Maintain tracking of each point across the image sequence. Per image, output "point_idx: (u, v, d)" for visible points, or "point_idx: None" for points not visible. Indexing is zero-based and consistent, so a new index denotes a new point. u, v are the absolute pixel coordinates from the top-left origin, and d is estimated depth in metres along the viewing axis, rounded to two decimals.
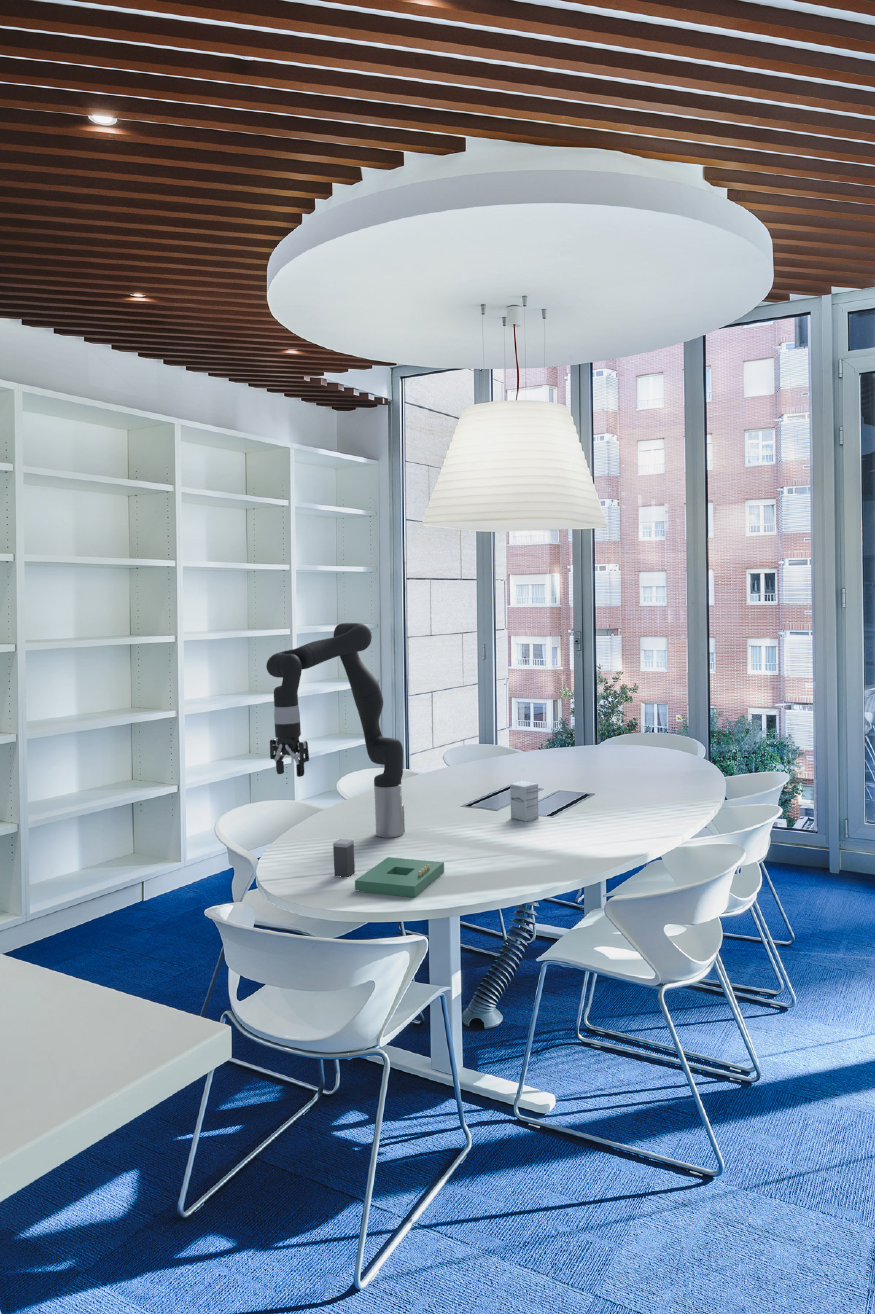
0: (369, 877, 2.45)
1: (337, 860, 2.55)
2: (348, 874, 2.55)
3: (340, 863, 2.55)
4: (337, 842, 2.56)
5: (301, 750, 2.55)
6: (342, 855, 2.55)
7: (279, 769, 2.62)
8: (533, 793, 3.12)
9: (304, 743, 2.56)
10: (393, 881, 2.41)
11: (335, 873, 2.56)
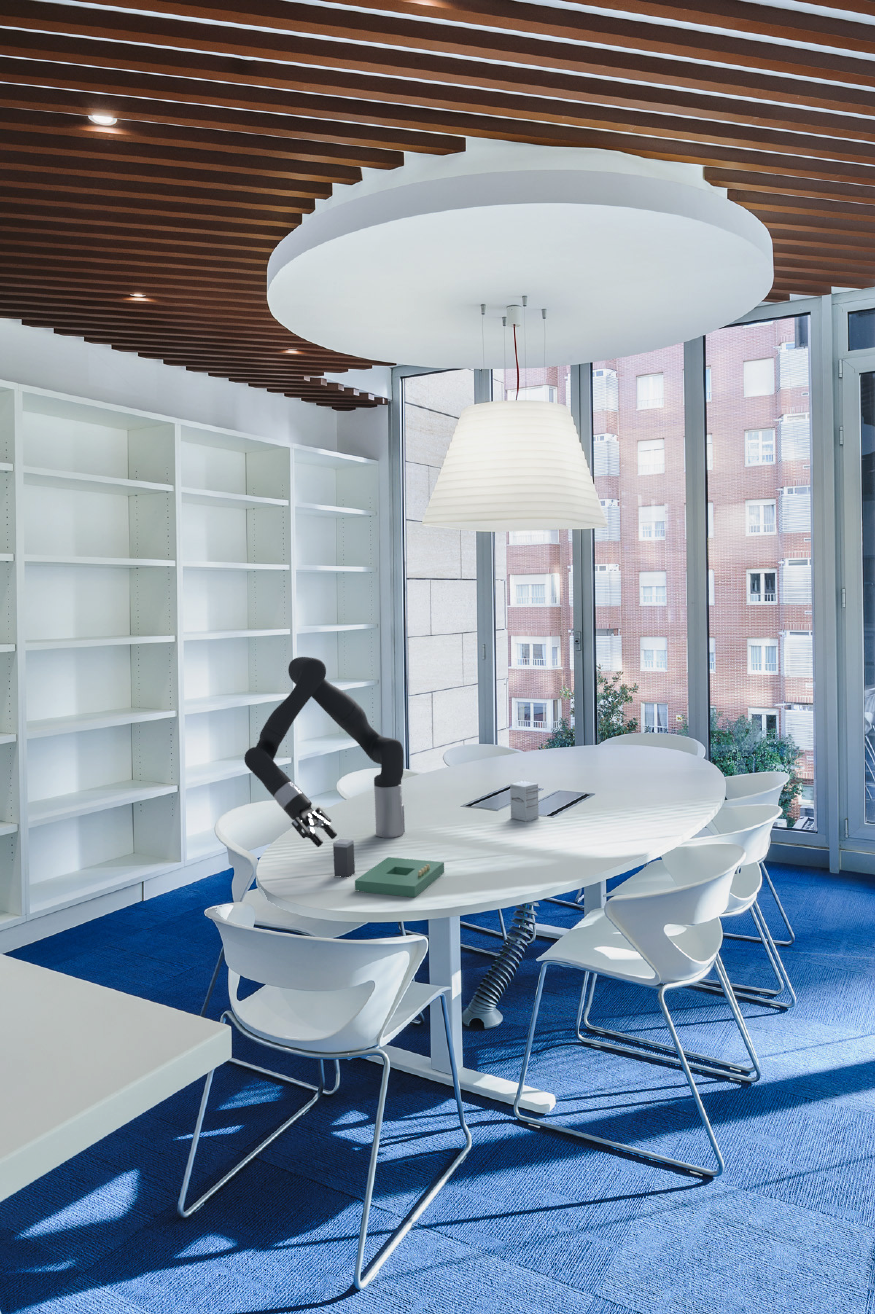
0: (369, 877, 2.45)
1: (337, 860, 2.55)
2: (348, 874, 2.55)
3: (340, 863, 2.55)
4: (337, 842, 2.56)
5: None
6: (342, 855, 2.55)
7: (329, 835, 2.63)
8: (533, 793, 3.12)
9: (294, 821, 2.54)
10: (393, 881, 2.41)
11: (335, 873, 2.56)
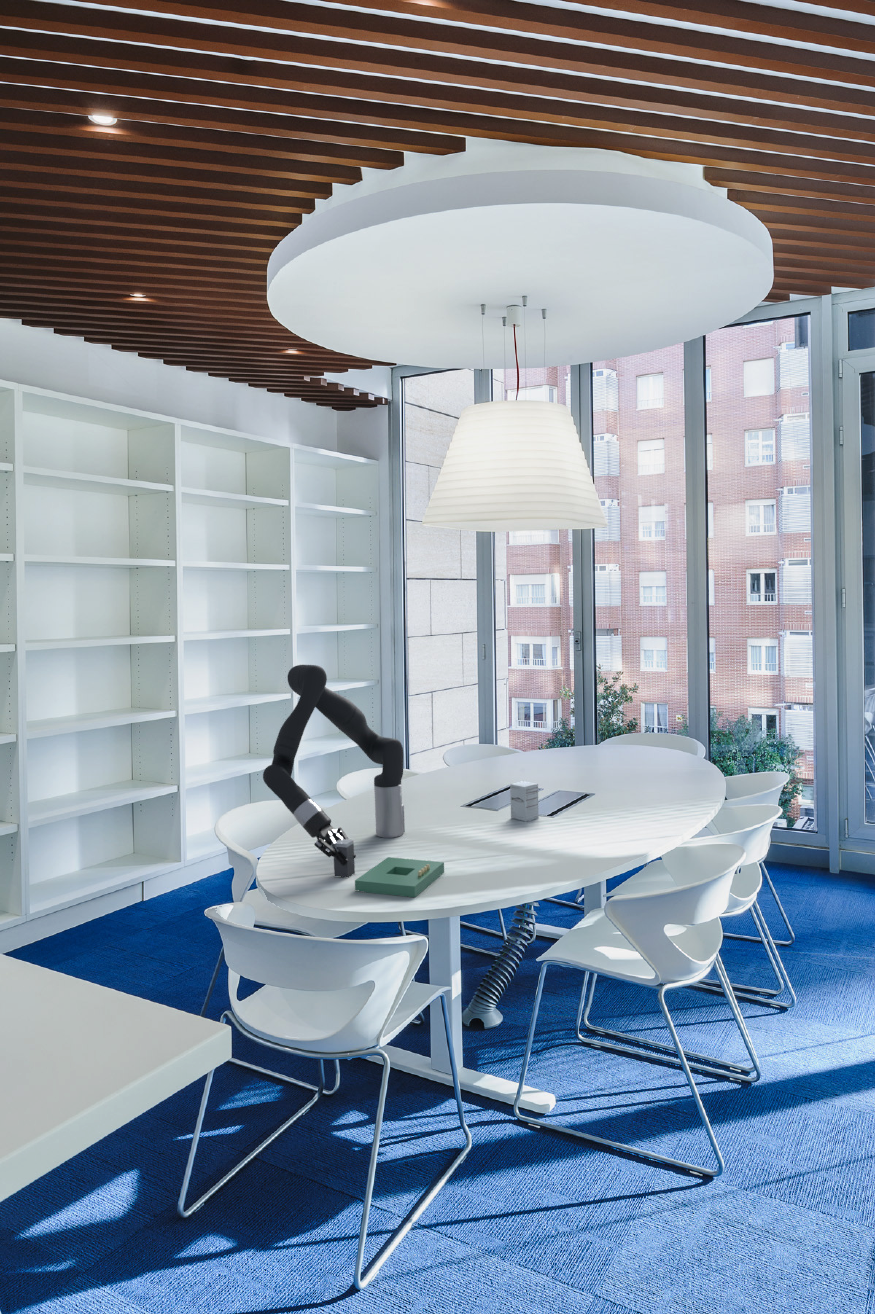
0: (369, 877, 2.45)
1: (337, 860, 2.55)
2: (348, 874, 2.55)
3: (340, 863, 2.55)
4: (337, 842, 2.56)
5: None
6: None
7: None
8: (533, 793, 3.12)
9: (317, 842, 2.52)
10: (393, 881, 2.41)
11: (335, 873, 2.56)
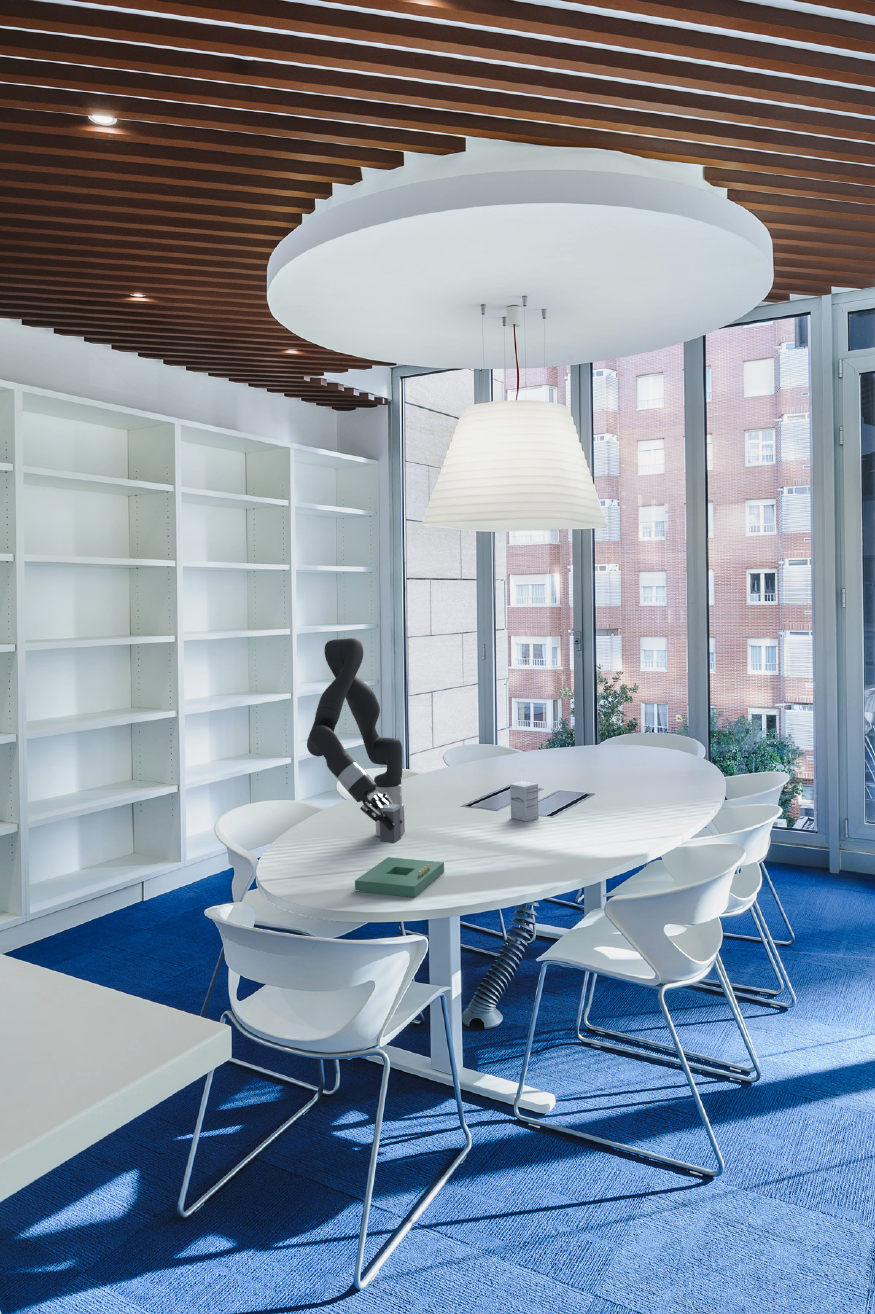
0: (369, 877, 2.45)
1: (384, 825, 2.48)
2: (394, 839, 2.47)
3: (386, 828, 2.48)
4: (383, 806, 2.48)
5: None
6: None
7: None
8: (533, 793, 3.12)
9: (363, 806, 2.45)
10: (393, 881, 2.41)
11: (381, 838, 2.48)
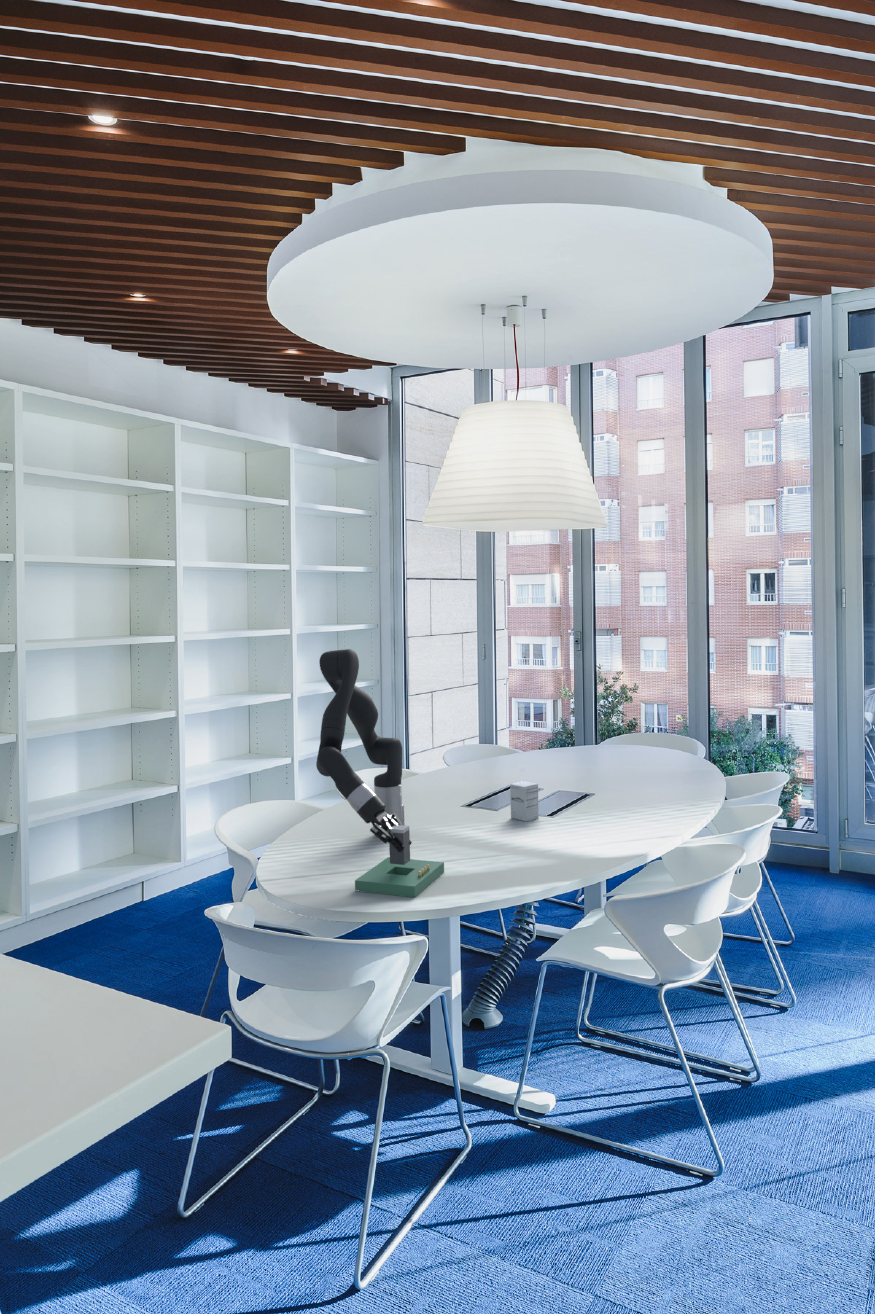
0: (369, 877, 2.45)
1: (393, 846, 2.47)
2: (404, 861, 2.47)
3: None
4: (393, 828, 2.48)
5: None
6: None
7: None
8: (533, 793, 3.12)
9: (373, 828, 2.44)
10: (393, 881, 2.41)
11: (390, 860, 2.48)
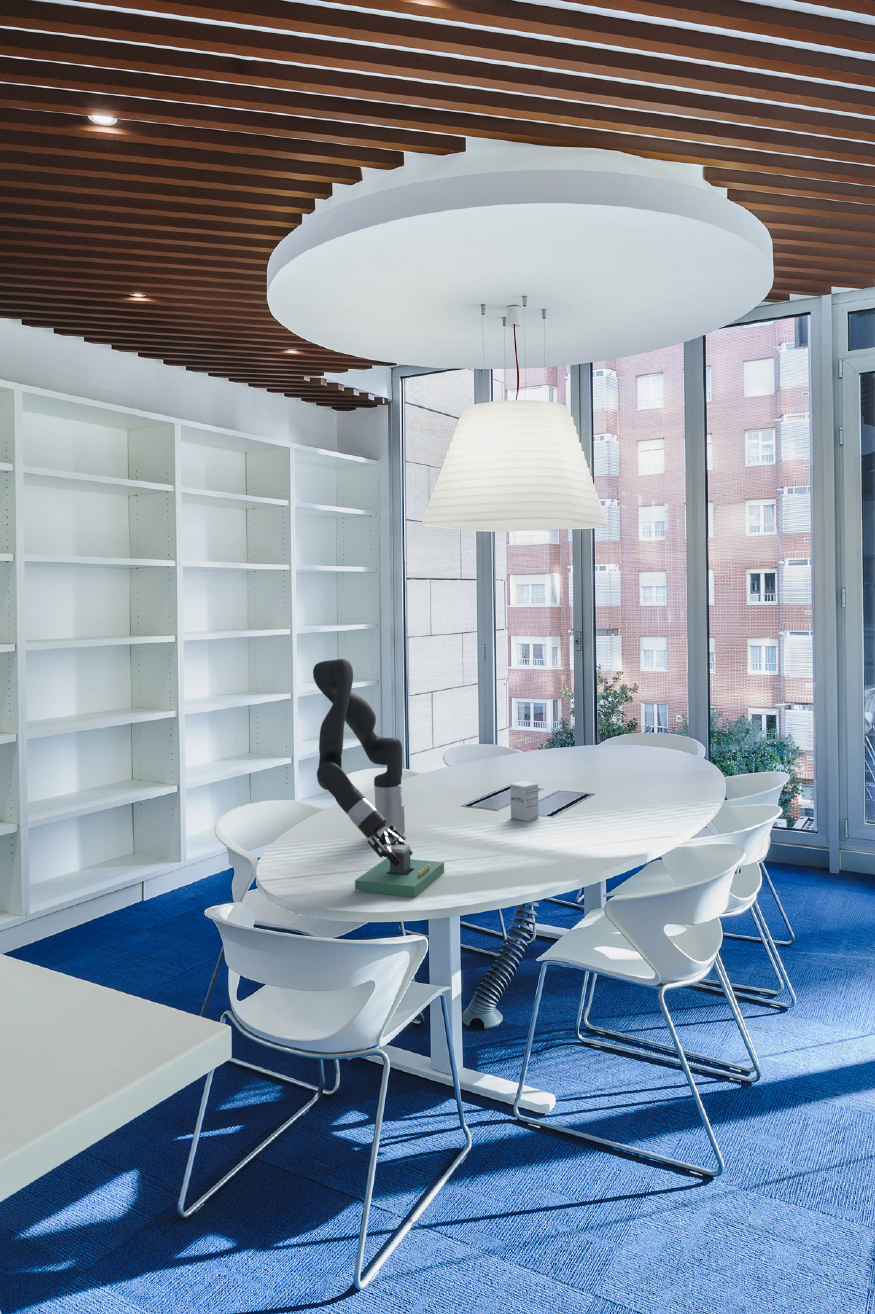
0: (369, 877, 2.45)
1: (394, 866, 2.48)
2: None
3: (396, 869, 2.48)
4: (393, 848, 2.48)
5: None
6: None
7: None
8: (533, 793, 3.12)
9: (370, 840, 2.45)
10: (393, 881, 2.41)
11: None
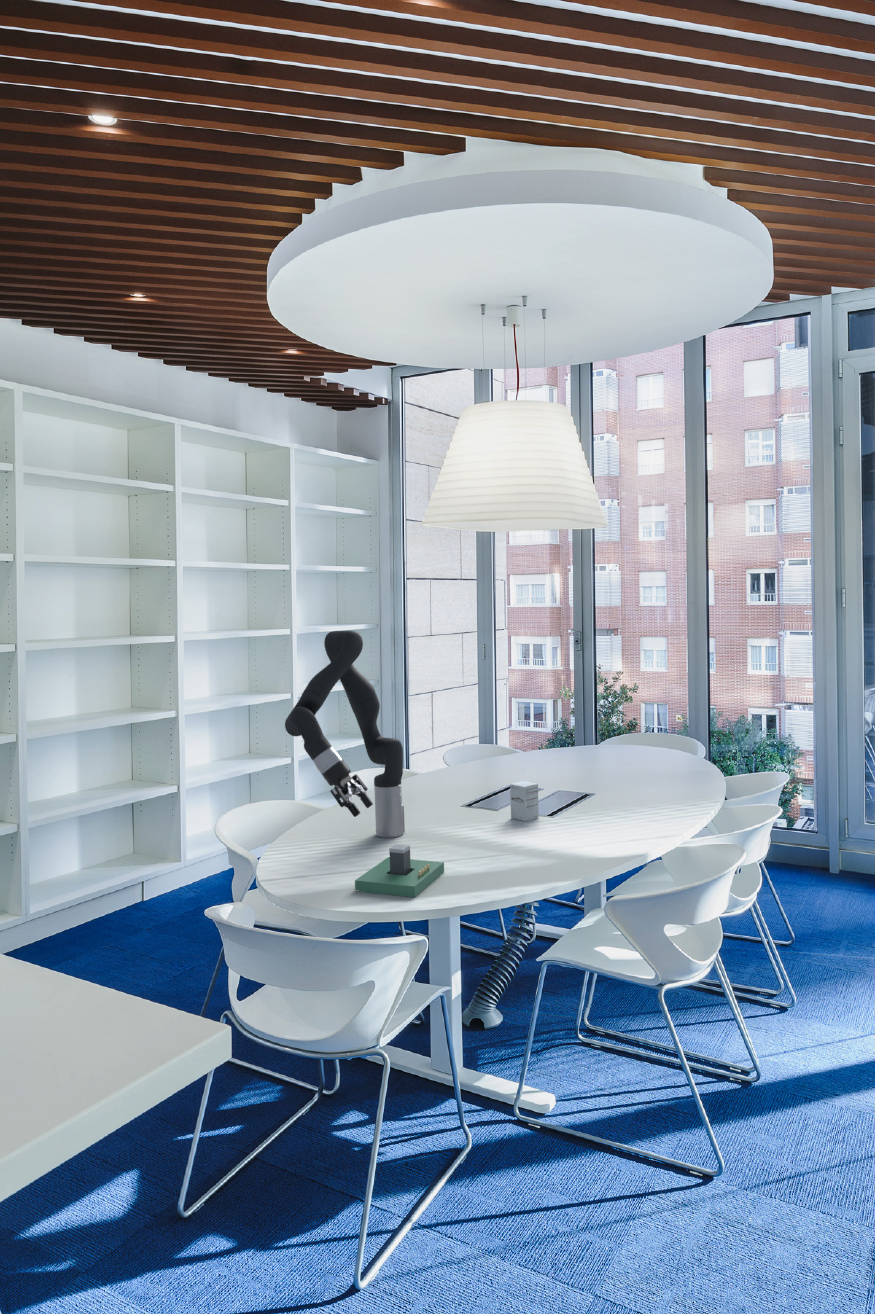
0: (369, 877, 2.45)
1: (394, 866, 2.48)
2: None
3: (396, 869, 2.48)
4: (393, 848, 2.48)
5: None
6: (398, 861, 2.47)
7: (364, 803, 2.61)
8: (533, 793, 3.12)
9: (333, 789, 2.51)
10: (393, 881, 2.41)
11: None
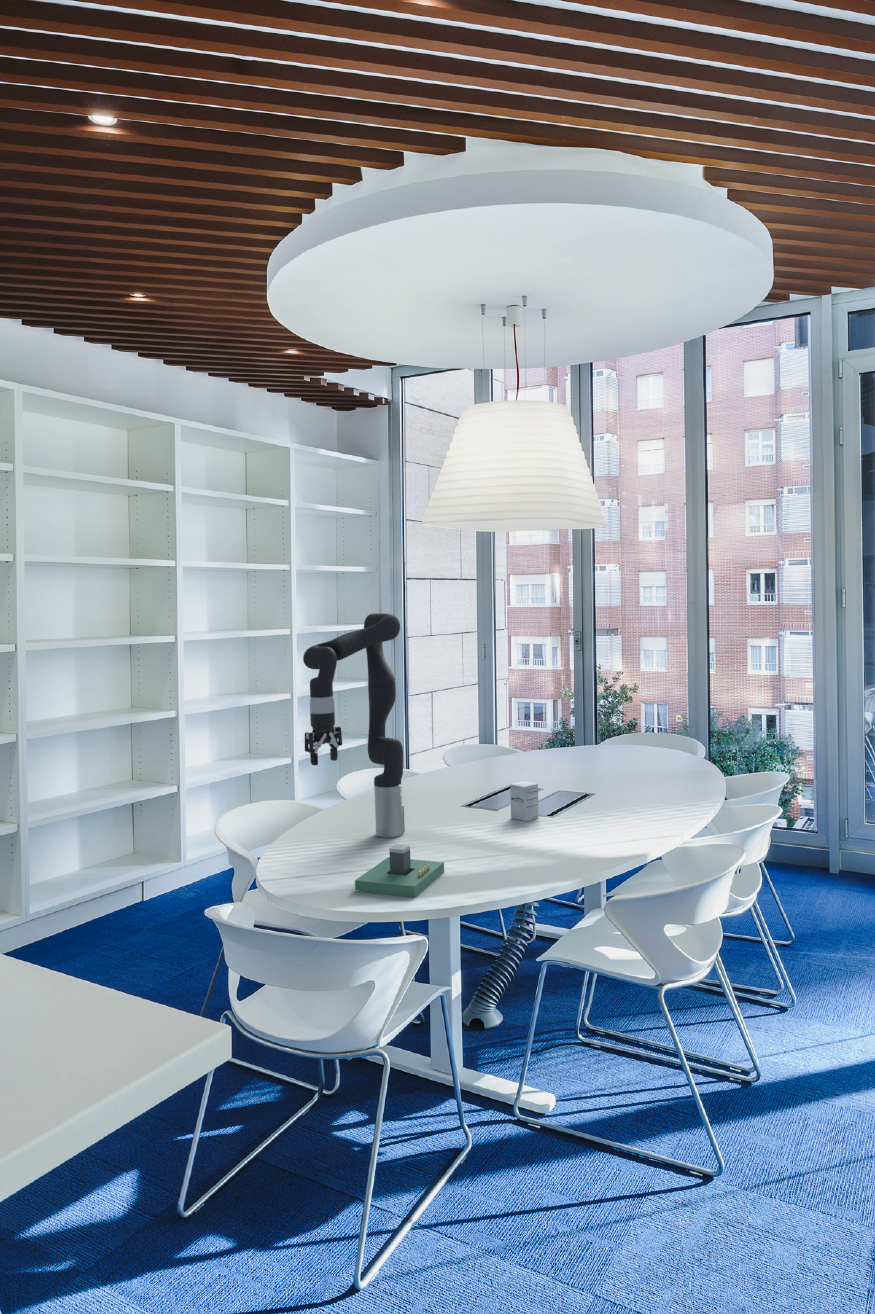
0: (369, 877, 2.45)
1: (394, 866, 2.48)
2: None
3: (396, 869, 2.48)
4: (393, 848, 2.48)
5: None
6: (398, 861, 2.47)
7: (331, 755, 2.76)
8: (533, 793, 3.12)
9: (307, 734, 2.67)
10: (393, 881, 2.41)
11: None
